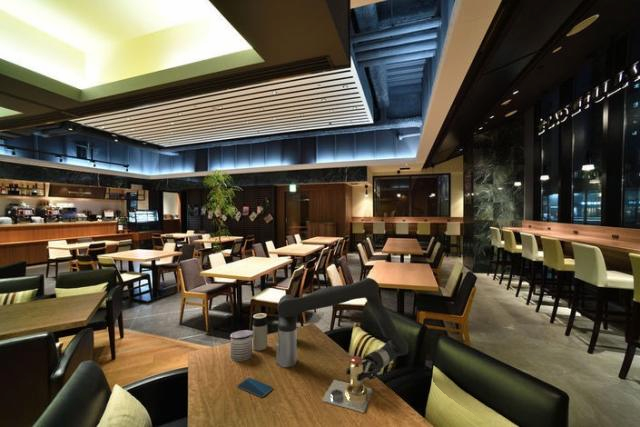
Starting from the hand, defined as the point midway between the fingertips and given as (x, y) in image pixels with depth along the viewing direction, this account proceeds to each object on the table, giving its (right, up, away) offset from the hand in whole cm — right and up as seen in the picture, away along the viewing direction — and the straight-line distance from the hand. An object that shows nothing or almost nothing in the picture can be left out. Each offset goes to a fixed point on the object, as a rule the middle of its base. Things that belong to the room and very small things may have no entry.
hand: (352, 375), depth 112 cm
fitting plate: (-2, -9, +1) cm, 9 cm away
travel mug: (-47, -10, +42) cm, 64 cm away
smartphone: (-41, -10, +6) cm, 43 cm away
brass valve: (+2, -7, +2) cm, 7 cm away
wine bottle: (-32, -10, +51) cm, 61 cm away
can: (-55, -10, +34) cm, 65 cm away
